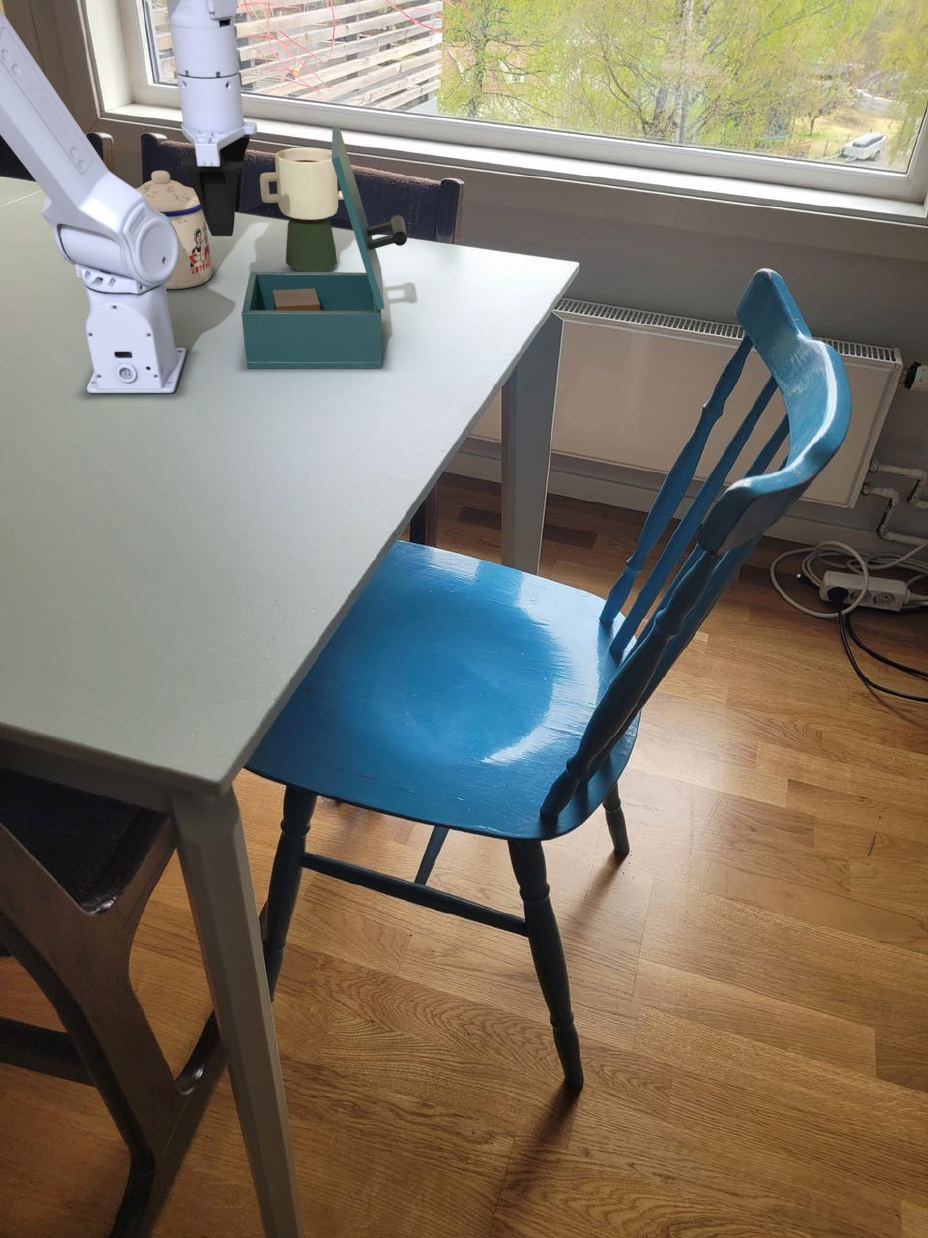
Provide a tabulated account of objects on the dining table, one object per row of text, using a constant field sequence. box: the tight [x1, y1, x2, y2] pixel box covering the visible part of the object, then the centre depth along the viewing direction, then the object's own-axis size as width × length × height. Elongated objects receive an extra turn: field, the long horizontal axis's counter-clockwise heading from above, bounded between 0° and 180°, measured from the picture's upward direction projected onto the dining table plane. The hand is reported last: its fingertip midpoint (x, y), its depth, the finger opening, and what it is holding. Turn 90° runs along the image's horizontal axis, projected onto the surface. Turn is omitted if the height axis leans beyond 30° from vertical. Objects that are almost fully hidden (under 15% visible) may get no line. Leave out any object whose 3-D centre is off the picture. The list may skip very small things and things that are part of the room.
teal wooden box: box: [241, 270, 383, 369], centre depth 99 cm, size 13×11×6 cm
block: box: [272, 289, 320, 311], centre depth 99 cm, size 4×4×4 cm
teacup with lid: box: [135, 170, 213, 290], centre depth 111 cm, size 12×9×12 cm
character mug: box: [259, 147, 344, 272], centre depth 114 cm, size 11×7×13 cm, turn 109°
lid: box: [331, 125, 408, 311], centre depth 93 cm, size 14×11×4 cm
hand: (225, 222), depth 98 cm, fingers open, 7 cm apart
